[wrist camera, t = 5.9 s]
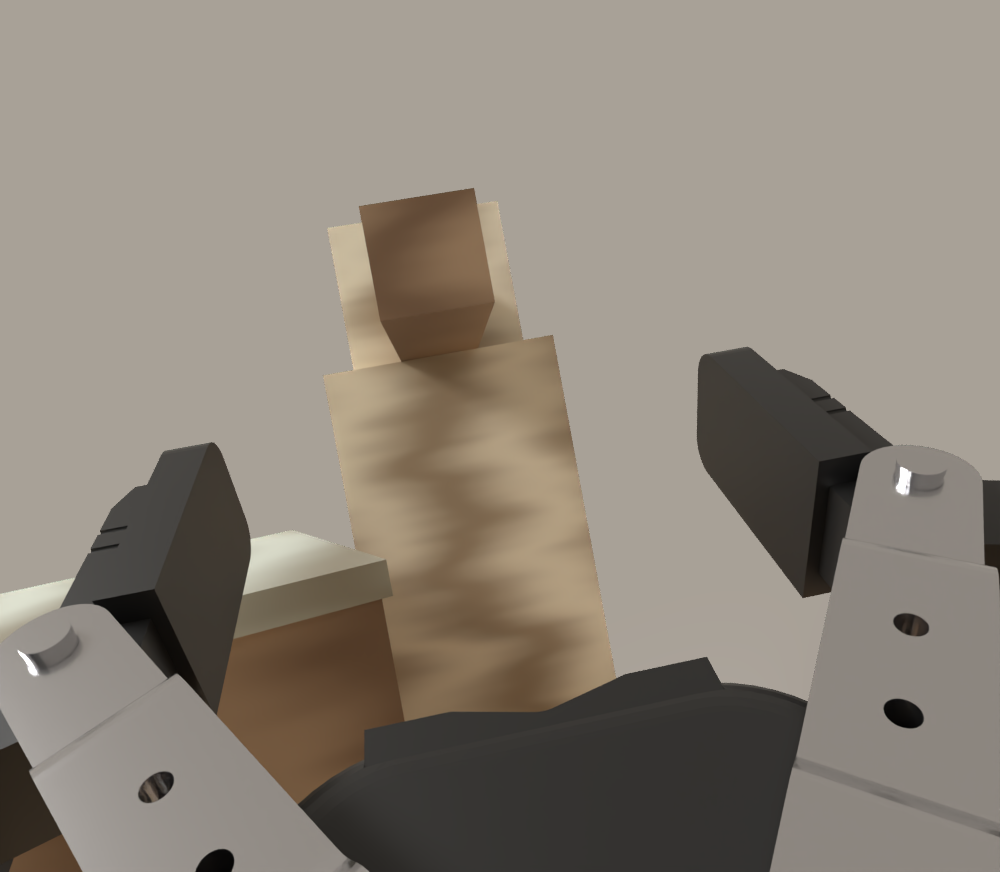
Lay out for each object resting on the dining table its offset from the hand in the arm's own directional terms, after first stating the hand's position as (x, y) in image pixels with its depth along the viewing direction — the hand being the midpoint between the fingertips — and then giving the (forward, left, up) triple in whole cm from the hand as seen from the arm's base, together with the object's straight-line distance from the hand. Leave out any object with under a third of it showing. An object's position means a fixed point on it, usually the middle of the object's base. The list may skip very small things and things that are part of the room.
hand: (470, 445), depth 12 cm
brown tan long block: (+5, +15, +3) cm, 16 cm away
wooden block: (+7, +19, -31) cm, 37 cm away
